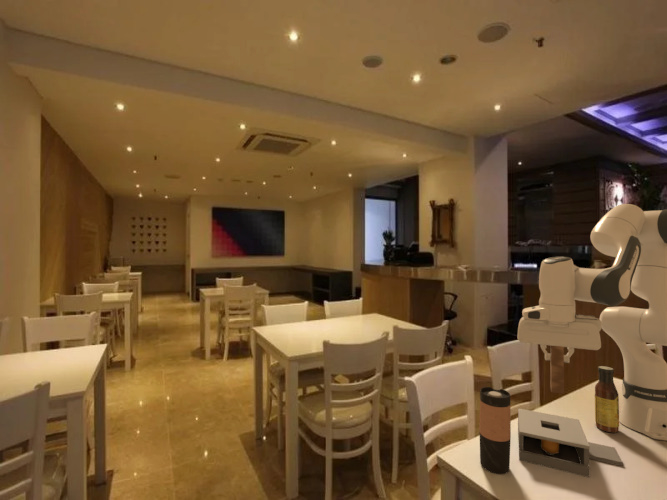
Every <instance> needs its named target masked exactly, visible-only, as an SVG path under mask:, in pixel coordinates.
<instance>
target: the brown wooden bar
mask: <svg viewBox="0 0 667 500" xmlns="http://www.w3.org/2000/svg"><path fill="white" fill-rule="evenodd" d="M549 346H550V345H549ZM564 349H565V347H561V346H552V345H551V346H550V347H549V352H550V354H551V361H549V362H550V363H549V365H550V366H549V367H550V368H549V369H550V372H549V373H550V375H549V378H550V379H549V380H550V382H549V388H550V392H551V393H554V394H555V393H556V394H563V395H564V394H565V390H564V389H565V385H564V384H565V377H564V376H565V373H564V371H565V369H564V368H565V362H564V355H565V353H564V352H565V350H564Z"/></svg>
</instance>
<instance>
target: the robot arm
mask: <svg viewBox="0 0 667 500" xmlns="http://www.w3.org/2000/svg"><path fill="white" fill-rule="evenodd" d="M590 242H591V244H592V245H593V247H594V249H595V250H597V251H598V252H599V253H601V254H603V255H605V256H607V257H608V256H609V257H613V258H615V259H614V261H613V263H612V265H611V267H607V268H589V267H588V268H587V267H586V268H585V267H579V266H577V265H576V264H574V261H573V259H572V258H571V257H569V256H552V257H548V258H545V259H542V261H541V263H540V268H539V276H538V279H539V280H538V289H539V292H540V297H539V300H538V305H535V306H530V307H525V308H523V309H522V311H521V313H522V314H521V315H522V316H521V318H520V319H519V322H518V327H517V340H518V341H519V342H520V343H521V344H532V345H533V344H534V345H540V349H541V351H542V352H543V354H544V360H545V361H549V362H550V361H551V354H550V353H549V352H548V351H547V350H546V349H547V346H551V345H552V346H561V347H564V348H567V351H568V352H567V353H566V354H564V364H566V363H567V364H570V358H571V356H573V354H574V353H575V349H579V350H587V351H588V350H589V351H590V350H591V351H599V350H600V349H601V348H602V341H601V340H602V339H601V334H600V332H601V330H602V331H603V332H605V333H606V334H607V335H608V336H609V337H611V339H612V340H613V341H614V342H615V343H616V345H617V346H618V348H619V350H620V352H621V355H622V359H623V371H624V372H623V373H624V377H623V379H622V383H621V386H622V387H621V392H622V394H621V395H622V397H623V398H622V404H621V409H620V410H619V423H620V424H622V425H623V426H625V427H626V428H628V429H630V430H632V431H633V430H634V431H635V432H639V433H641V434H643V435H645V436H647V437H648V438H651V439H653V440H657V441H658V440H660V441H667V362H666V361H665V359H664V358H663V357H661V356H660V355H658V354H657V353H655V352H653V351H652V350H651V349H650V348H649V347H648V345H647V343H648V344H652V345H654V344H655V345H660V346H664V347H667V209H663V210H662V209H661V210H660V209H659V210H643V209H642V208H641V207H639V206H638V205H635V204H631V203H621V204H618V205H616V206H614V207H613V208H611V209H610V210H609V211H607V212H606V213H605V214H604V215H603V216H602V217H601V218H600V219H599V221H598V222H597V223H596V224H595V226H594V227H593V228H592V230H591V232H590ZM631 292H632V294H634V295H635V296H636V297H638V298H640V299H643V300H645V301H646V302H648V308H638V307H631V306H618V305H621V304H622V303H623V302H625V301H626V300H628V299H629V297H630V294H631ZM576 301H579V302H585V303H586V302H587V303H596V304H600V305H604V306H609V307H606V308H604V309H603V310H602V311H601V312H600V315H599V318H598V317H596V316H594V315H584V314H576Z"/></svg>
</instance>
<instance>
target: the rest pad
mask: <svg viewBox="0 0 667 500" xmlns="http://www.w3.org/2000/svg"><path fill="white" fill-rule="evenodd" d="M588 444H589V446H590V450H589V460H593V461H599V462H603V463H607V464H612V465H617V466H620V467H623V460H622V458H621V456H620V455H619V453H618V451H617V449H616V447H614V446H609V445H605V444H600V443H594V442H590V441H588Z"/></svg>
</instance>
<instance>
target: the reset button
mask: <svg viewBox="0 0 667 500" xmlns="http://www.w3.org/2000/svg"><path fill="white" fill-rule="evenodd" d="M540 443H541V444H540V446H541V449H542V450H543V451H545V453H546V452H549V453H554V454H559V453H560V444H559V443H557V442H552V441H548V440H543V439H541V440H540Z"/></svg>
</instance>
